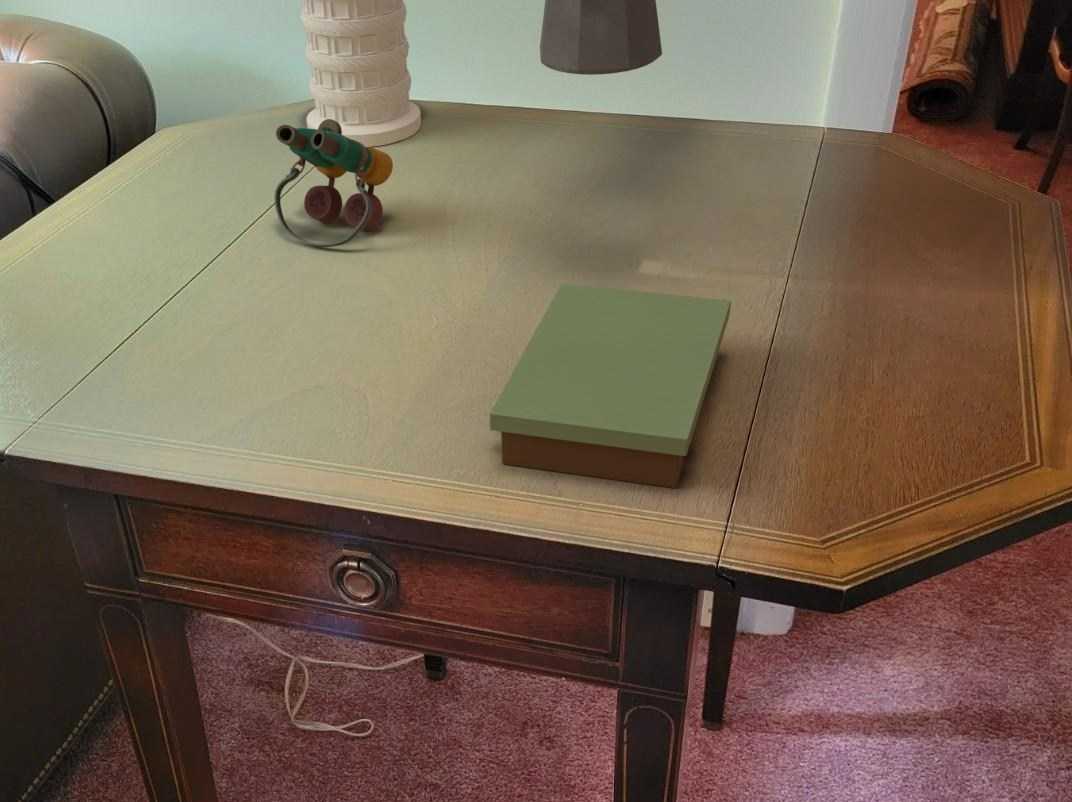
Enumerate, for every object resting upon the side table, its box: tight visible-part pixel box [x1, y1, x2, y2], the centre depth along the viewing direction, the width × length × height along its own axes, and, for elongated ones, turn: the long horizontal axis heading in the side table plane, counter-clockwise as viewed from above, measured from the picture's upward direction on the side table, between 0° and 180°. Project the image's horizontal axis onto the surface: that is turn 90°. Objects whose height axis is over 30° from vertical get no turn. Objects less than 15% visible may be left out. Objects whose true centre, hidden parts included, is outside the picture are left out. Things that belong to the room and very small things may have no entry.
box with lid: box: [489, 283, 732, 489], centre depth 80 cm, size 12×18×4 cm, turn 163°
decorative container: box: [300, 0, 422, 148], centre depth 118 cm, size 12×12×18 cm
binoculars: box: [273, 119, 394, 248], centre depth 101 cm, size 9×9×10 cm
